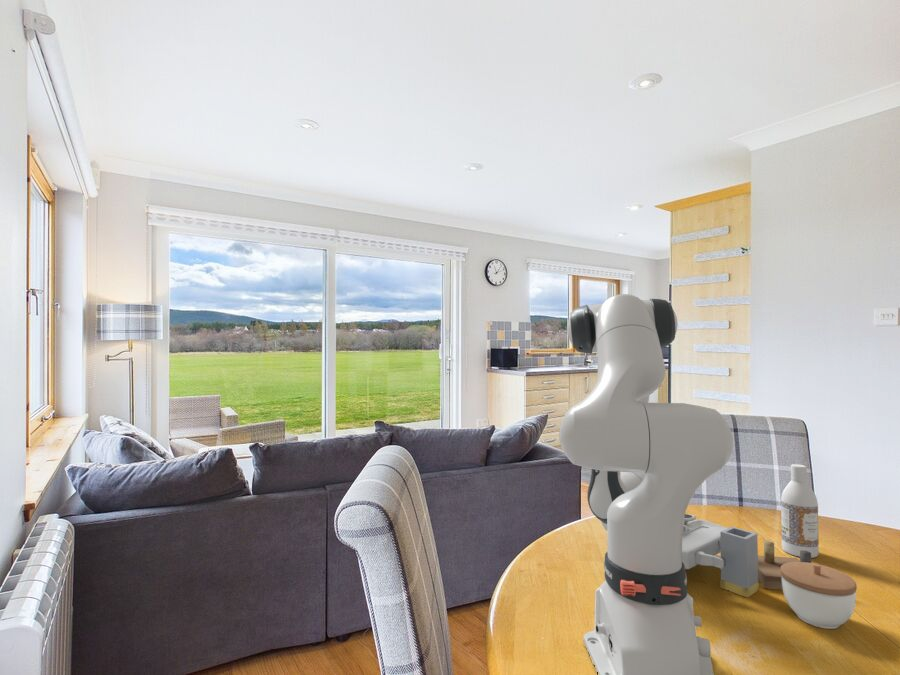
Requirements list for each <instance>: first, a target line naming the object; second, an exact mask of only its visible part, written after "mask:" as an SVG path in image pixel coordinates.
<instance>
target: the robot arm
mask: <svg viewBox="0 0 900 675" xmlns="http://www.w3.org/2000/svg"><path fill="white" fill-rule="evenodd" d="M569 314H570V315H569V318H568V321H567V326H566V332H567V337H568V340H569V342H570V344H571V345H572V347H573V349H575V351H577V352H578V353H583V354H591V355H592V353H596V356H597V357H596V358H597V377H596V382H595V384H594V386H593V388H592V390H591V391H590V392H589V393H588V395H586V397H585V398H583V399H582V400H581V401H579V402H578V403H575V404H574V405H573V406H571V407H570V408H569V409H568V410H567V411H566V412H565V414H564V416H563V417H562V419H561V422H560V426H559V431H558V433H559V436H558V438H559V439H558V440H559V443H560V446H561V449H562V452H563V453H564V455H565V456H566V458H567V459H568V460H569V462H570V463H571V464H572V465H575V466H578V467H583V468H586V469H590V470H591V475H590V480H589V485H588V488H587V497H586V498H587V503H588V504H587V505H588V506H589V509H590V510H591V512H592V514H593V515H594V516H595V518H596V519H597V520H599V521H600V522H601V525H602V526H603V528H604V530H605V531H606V532H607V533H606V535H607V536H606V537H607V539H606V541H607V542H606V545H607V547H606V549H607V551H606V552H605V554H604V561H603V569H604V581H603V583H602V584H601V585H600V586H599V587H598V588H597V589H595V594H594V595H595V596H594V598H595V599H594V629H593V630H590V631H587V632H585V633H584V634H583V637H582V641H583V640H584V643H585V645H586V647H587V650H588V652H589V654H590V656H591V658H592V660H593V663H594V665H595V667H596V670H597V672H598V674H599V675H715V674H714V668H713V663H712V659H711V654H712V652H711V642H710V639H708V638H704V637H701V636H698V635H697V632H696V627H697V628H702V618H701V616H699V615H695V614H694V598H693V597H692V596H691V595H690V594H688V587H687V586H688V584H687V583H688V578H687V572H686V570H690V569H691V568H694V567H696V566H697V565H700V566H707V567H716V568H717V569H718V568H719V569H721V568H723V567H725V566H726V559H725V558H724V557H721V555H719V554H721V540H720V532H721V531H723V530H725V529H727V528H728V527H726V526H723V525H721V524H719V523H714V522H711V521H708V520H705V519H701V518H700V519H699V518H697V516H696V515H695V514H690V513H686V512H687V509H688V506H689V504H690V502H691V500H692V498H693V496H694V495H695V493H696V491H697V490H698V489H699V488H700V487H701V486H702V484H703V483H704V482H705V481H706V480H707V479H708V478H710V477H711V476H712V475H714V474H715V473H717V472H718V471H721V469H723V468H724V467H725V465H726V464H727V463H728V462H729V460H730V459H731V455H732V453H733V448H734V437H733V432H732V430H731V427H730V425H729V422H727V420H726V419H725V417H724V416H723V415H722V414H721V413H720V412H719V411H718V410H717V409H714V408H711V407H705V406H702V405H695V404H691V403H685V402H683V403H682V402H650V395H652V394H653V393H654V392H655V391H657V390H658V389H659V388H660V387H661V385H662V384H663V382H664V380H665V378H666V371H667V370H666V365H665V361H664V357H663V356H664V355H663V352H662V351H663V350H662V349H663V348H666V347H668V346H670V344H672V343H673V342H674V341H675V338H676V334H677V330H678V326H679V325H678V316H677V313H676V312H675V310H674V309H673V305H672V304H671V303H670V302H669V301H668V300H665V299H661V298H650V299H641V298H639V297H638V296H635V295H634V294H633V295H632V294H628V293H621V294H615V295H612V296H610V297H609V298H607V299H606V300H605V301H603V302H600V303H596V304H592V305H588V304H585V305H581V306H578V307H576V308H574V309H573V310H572V311H571V312H570V313H569ZM584 643H583V644H584ZM585 645H584V646H585ZM587 650H586V651H587ZM588 652H587V653H588ZM589 654H588V655H589ZM593 663H592V664H593ZM596 670H595V671H596ZM597 672H596V673H597Z"/></svg>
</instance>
